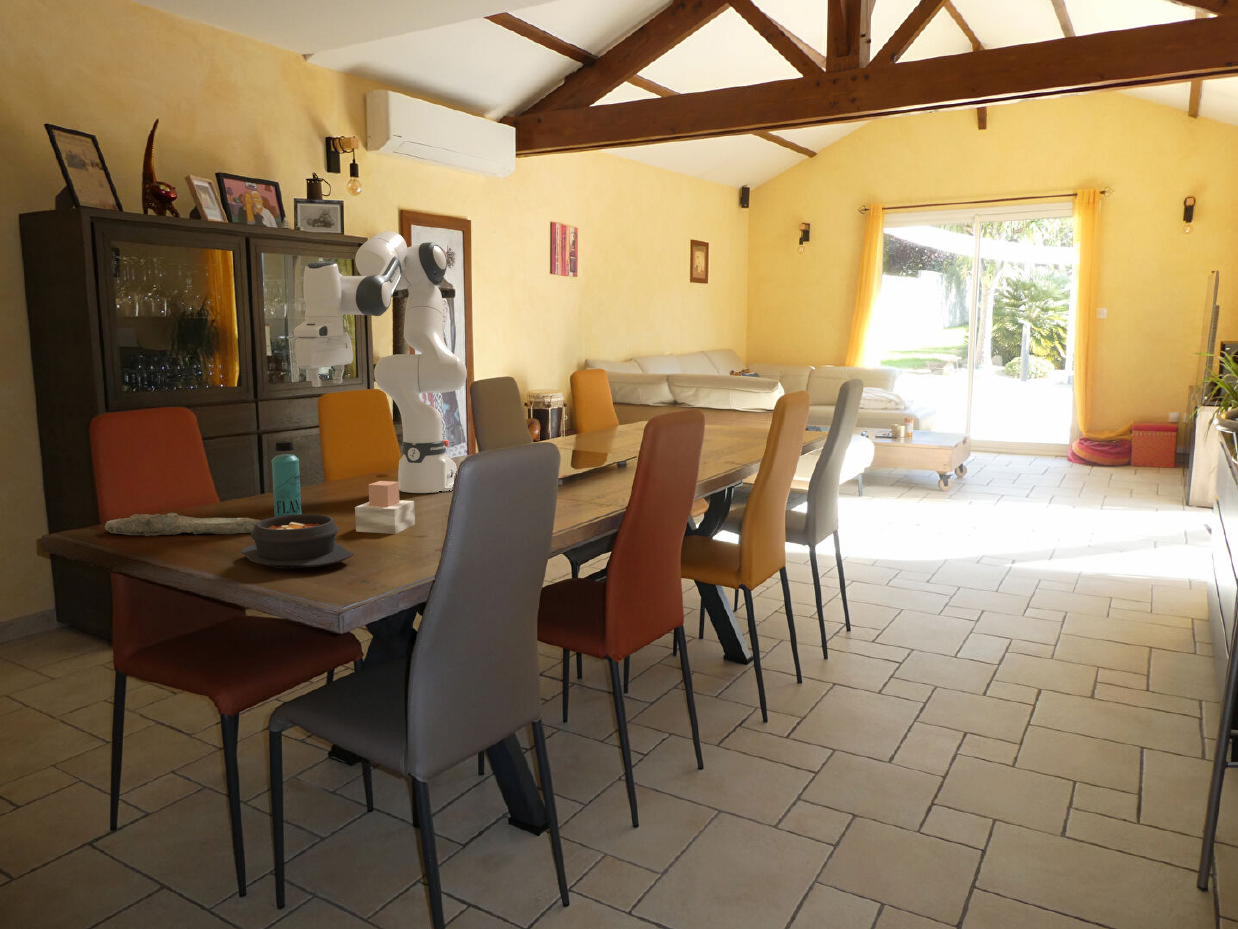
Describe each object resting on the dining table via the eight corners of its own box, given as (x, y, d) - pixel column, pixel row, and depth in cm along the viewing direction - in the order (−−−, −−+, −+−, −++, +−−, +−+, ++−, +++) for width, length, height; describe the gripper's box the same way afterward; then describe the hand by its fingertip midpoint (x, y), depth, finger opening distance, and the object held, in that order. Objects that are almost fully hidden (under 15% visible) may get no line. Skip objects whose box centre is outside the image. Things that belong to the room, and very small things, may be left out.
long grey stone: (254, 542, 205) (268, 534, 215) (255, 519, 205) (269, 513, 215) (95, 536, 203) (117, 528, 213) (95, 513, 202) (117, 506, 212)
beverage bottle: (273, 527, 214) (268, 443, 211) (275, 521, 220) (270, 439, 217) (302, 525, 216) (297, 442, 212) (303, 519, 222) (299, 439, 219)
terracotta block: (380, 501, 215) (380, 480, 215) (399, 502, 214) (398, 481, 213) (369, 505, 211) (368, 484, 210) (388, 506, 209) (387, 485, 209)
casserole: (375, 560, 185) (373, 520, 184) (301, 582, 169) (299, 538, 168) (293, 544, 198) (291, 506, 196) (217, 563, 182) (215, 522, 181)
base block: (377, 523, 219) (376, 499, 218) (414, 525, 217) (414, 501, 216) (356, 532, 210) (355, 507, 209) (395, 534, 207) (394, 509, 207)
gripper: (335, 327, 232) (338, 381, 234) (289, 329, 212) (292, 388, 215) (358, 327, 230) (360, 381, 233) (313, 330, 211) (316, 389, 213)
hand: (327, 385), depth 223 cm, fingers open, 8 cm apart
